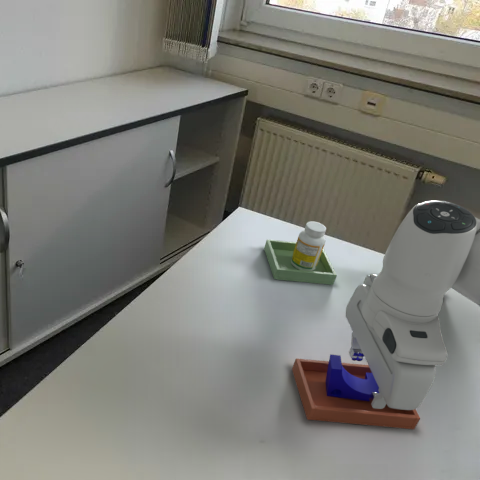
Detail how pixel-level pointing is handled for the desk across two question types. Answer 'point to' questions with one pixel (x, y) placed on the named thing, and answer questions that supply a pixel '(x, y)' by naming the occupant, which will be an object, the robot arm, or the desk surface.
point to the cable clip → (348, 382)
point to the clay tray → (343, 399)
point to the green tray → (284, 270)
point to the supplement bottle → (309, 246)
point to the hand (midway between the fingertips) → (364, 380)
